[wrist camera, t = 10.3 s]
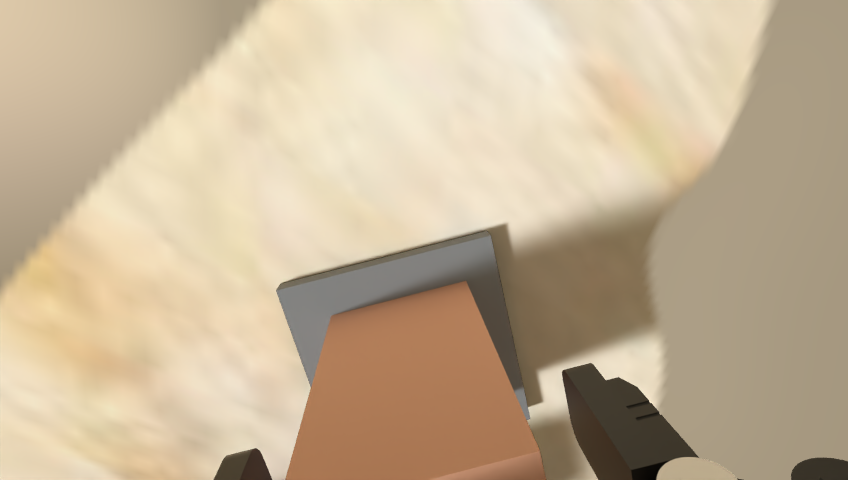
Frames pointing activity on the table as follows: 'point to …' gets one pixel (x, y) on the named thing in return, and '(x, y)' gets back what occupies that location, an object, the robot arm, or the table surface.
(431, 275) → the pad
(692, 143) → the table surface
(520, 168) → the table surface
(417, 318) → the block
